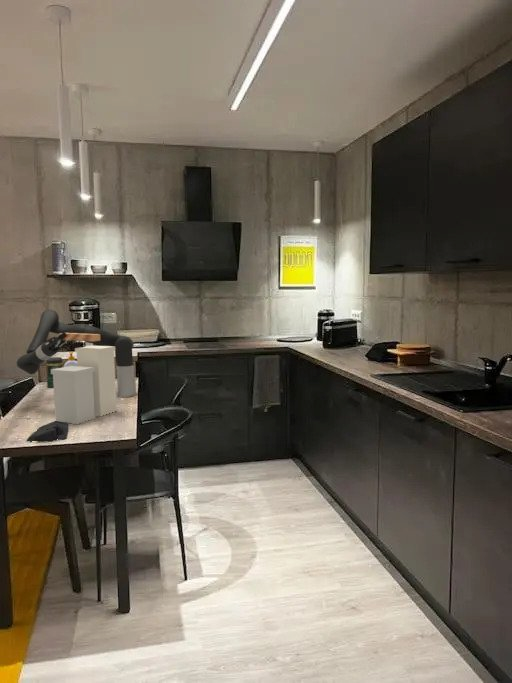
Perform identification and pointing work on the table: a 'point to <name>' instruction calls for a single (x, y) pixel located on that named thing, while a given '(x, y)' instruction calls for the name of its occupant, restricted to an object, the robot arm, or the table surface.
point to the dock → (73, 394)
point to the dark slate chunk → (50, 432)
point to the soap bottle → (71, 361)
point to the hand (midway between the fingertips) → (68, 333)
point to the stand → (100, 376)
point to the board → (81, 337)
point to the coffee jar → (52, 364)
